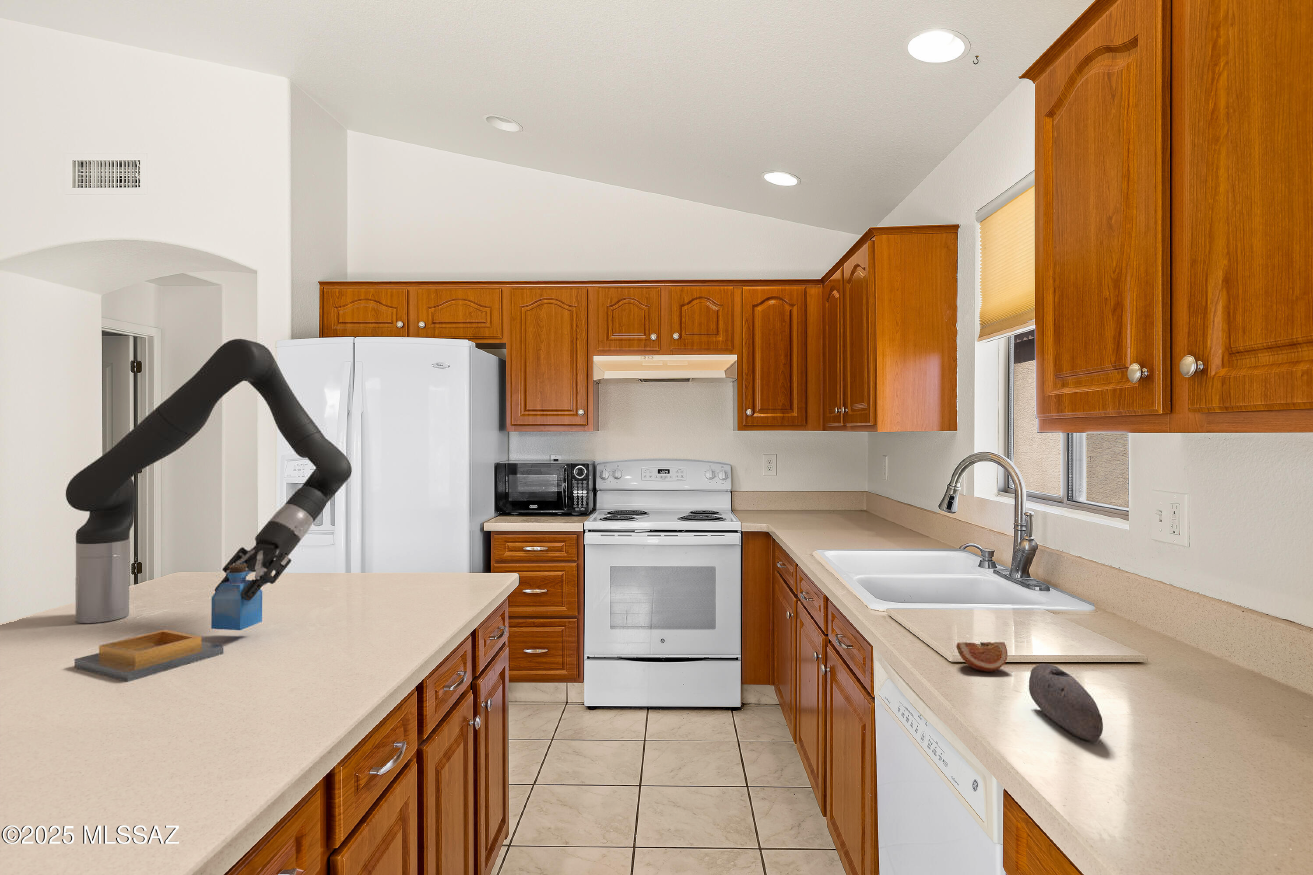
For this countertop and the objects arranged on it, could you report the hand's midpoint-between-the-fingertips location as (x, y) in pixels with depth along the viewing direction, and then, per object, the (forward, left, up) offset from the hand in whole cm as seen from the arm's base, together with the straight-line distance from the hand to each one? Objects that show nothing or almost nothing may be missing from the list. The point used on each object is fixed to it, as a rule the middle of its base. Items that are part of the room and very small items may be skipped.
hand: (231, 595), depth 135 cm
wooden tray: (-2, -14, -9) cm, 16 cm away
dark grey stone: (+146, +25, -9) cm, 149 cm away
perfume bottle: (0, +1, -6) cm, 7 cm away
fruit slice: (+135, +46, -9) cm, 143 cm away
